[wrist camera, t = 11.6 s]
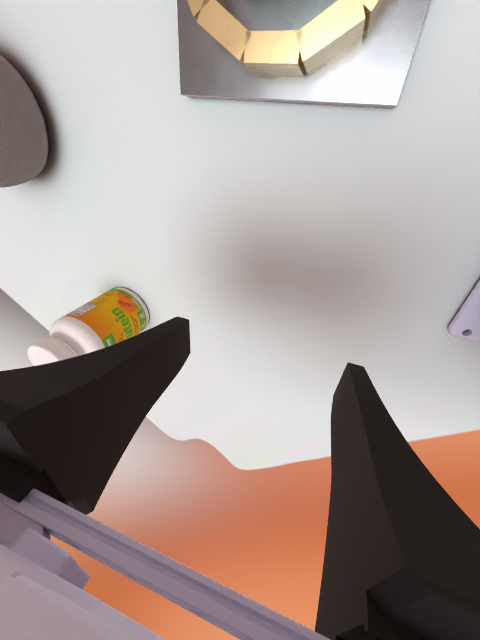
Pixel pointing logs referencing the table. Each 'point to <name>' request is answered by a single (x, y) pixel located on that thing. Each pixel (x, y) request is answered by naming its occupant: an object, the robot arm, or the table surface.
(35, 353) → the supplement bottle
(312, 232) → the table surface
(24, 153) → the smart speaker
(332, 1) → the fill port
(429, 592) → the robot arm
